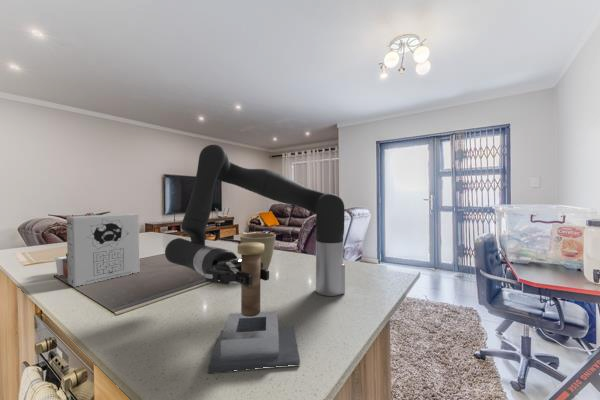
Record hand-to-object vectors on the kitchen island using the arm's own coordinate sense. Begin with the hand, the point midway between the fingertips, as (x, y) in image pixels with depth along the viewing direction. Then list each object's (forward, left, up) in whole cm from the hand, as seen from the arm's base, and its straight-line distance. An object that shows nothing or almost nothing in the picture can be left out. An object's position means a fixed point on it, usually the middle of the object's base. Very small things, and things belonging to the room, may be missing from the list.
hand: (259, 278), depth 53 cm
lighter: (+78, -62, -16) cm, 101 cm away
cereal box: (+63, -57, -16) cm, 86 cm away
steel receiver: (+1, -2, -16) cm, 16 cm away
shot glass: (+83, -65, -16) cm, 106 cm away
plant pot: (+3, -56, -16) cm, 58 cm away
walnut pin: (+2, -2, -8) cm, 8 cm away
